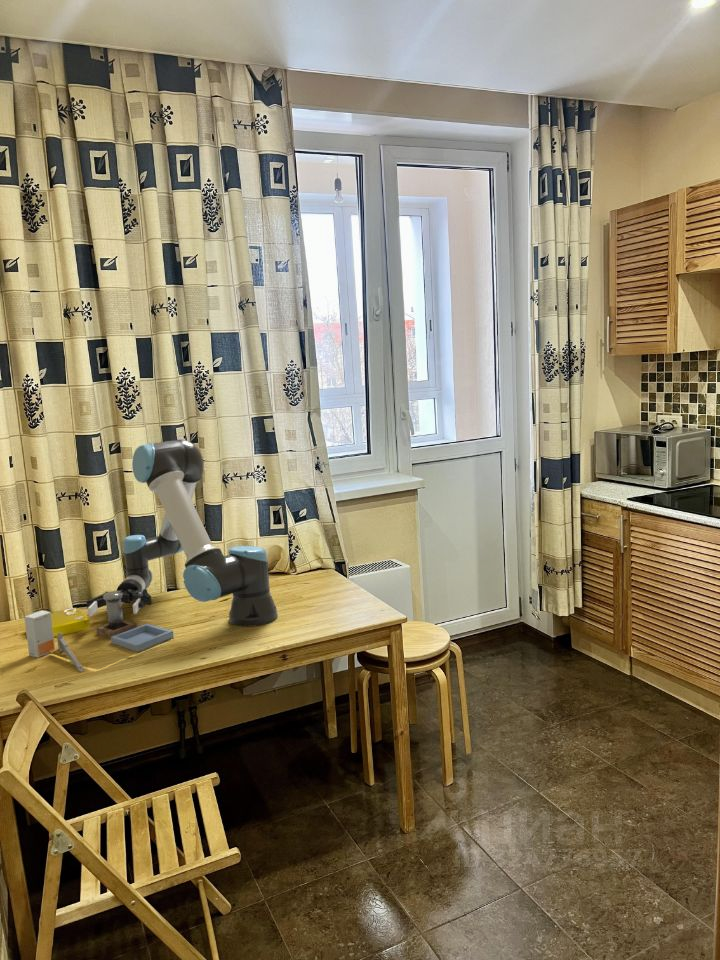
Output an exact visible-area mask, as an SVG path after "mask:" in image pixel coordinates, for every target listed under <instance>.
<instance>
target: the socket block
mask: <svg viewBox="0 0 720 960" xmlns="http://www.w3.org/2000/svg"><path fill="white" fill-rule="evenodd" d="M123 622H124V627H121V628H118V629H116V630H111V629H109V624H108V623H105V624H102V625H100V626H96V635H100V636H103V637H105V638H108V639H111V637H112V636H115V635H118V634H120V633H123V632H126V631H128V630H131V629H134V628H136V627H137V623H135V622H132V621H128V620H125V619H123Z"/></svg>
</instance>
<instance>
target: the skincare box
mask: <svg viewBox="0 0 720 960" xmlns="http://www.w3.org/2000/svg"><path fill="white" fill-rule="evenodd" d="M51 613H52V612H51V611H47V610H39V611H37V612H33V613H31V614H29V615H25V616H24V624H25V631H26V633H25V634H26V639H27V649H28V656H29V657H34V658H38V659H39V658H40V657H43V656H45V655H47V654H51V652H52V651H54V650H56V645H55V637H54V635H53V627H52V618H51Z"/></svg>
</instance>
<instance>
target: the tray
mask: <svg viewBox="0 0 720 960" xmlns="http://www.w3.org/2000/svg"><path fill="white" fill-rule="evenodd" d="M174 636H175V635H174V631H173V630H170V629H166V628H164V627H162V626H161V627H160V626H157V625H152V624H149V623H144V624H142V625H140V626H136V628H134V629H131V630H128V631H126V632H123V633H120V634H118V635H115V636H112V637H111V638H110V641H111V642H110V643H111V644H112V645H113V644H114V645H115V646H120V647H123V648H126V649H129V650H131V651H135V652H137V654H140V653H143V652H145V651H147V650H150V649H152V648H154V646H155V647H157V646H159V645H158V644H160V645H162V644H164V643H163V642H165V643H167V642H169V641H171V639H172V640H174V639H175V638H174ZM168 640H169V641H168ZM166 641H167V642H166ZM161 643H162V644H161ZM156 645H157V646H156ZM142 651H143V652H142Z"/></svg>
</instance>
